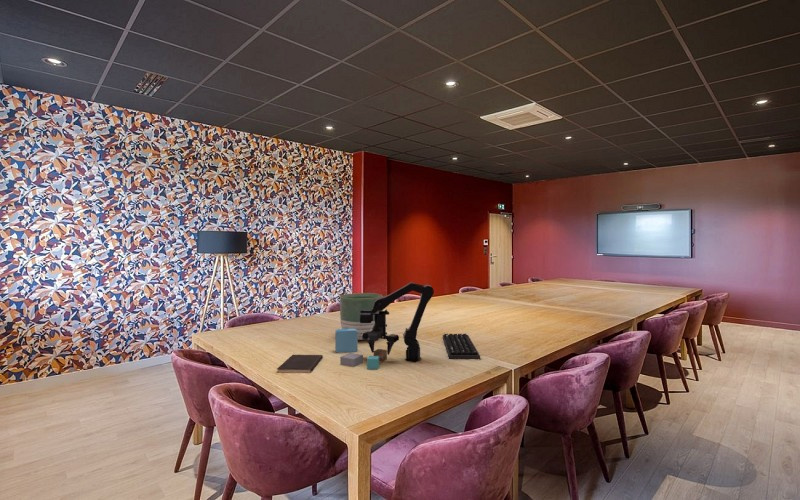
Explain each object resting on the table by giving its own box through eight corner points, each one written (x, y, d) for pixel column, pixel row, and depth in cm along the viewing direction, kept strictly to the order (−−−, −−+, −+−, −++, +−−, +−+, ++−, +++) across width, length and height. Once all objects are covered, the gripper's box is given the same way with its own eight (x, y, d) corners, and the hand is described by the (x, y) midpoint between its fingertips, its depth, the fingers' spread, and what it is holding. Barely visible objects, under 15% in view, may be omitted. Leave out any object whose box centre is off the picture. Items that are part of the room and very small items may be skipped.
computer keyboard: (442, 339, 242) (442, 332, 242) (467, 339, 242) (467, 333, 242) (449, 360, 198) (448, 353, 197) (480, 360, 197) (480, 353, 197)
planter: (356, 346, 224) (356, 300, 223) (331, 338, 243) (331, 295, 243) (391, 338, 241) (391, 295, 241) (365, 331, 261) (365, 291, 261)
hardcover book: (276, 373, 179) (276, 368, 179) (292, 359, 202) (292, 354, 202) (311, 374, 178) (311, 369, 178) (322, 359, 201) (322, 354, 201)
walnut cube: (386, 359, 198) (386, 349, 198) (382, 362, 194) (382, 352, 194) (378, 358, 200) (378, 348, 200) (373, 360, 196) (373, 351, 196)
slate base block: (363, 363, 193) (363, 355, 193) (353, 367, 186) (353, 359, 186) (350, 360, 197) (350, 352, 197) (340, 364, 190) (340, 356, 190)
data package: (357, 349, 217) (356, 328, 217) (357, 351, 213) (357, 330, 212) (335, 350, 215) (335, 329, 215) (335, 352, 210) (335, 331, 210)
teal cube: (379, 366, 187) (379, 356, 187) (377, 369, 182) (377, 359, 182) (369, 366, 188) (369, 355, 188) (367, 369, 183) (367, 358, 183)
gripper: (356, 324, 194) (356, 355, 194) (388, 327, 185) (388, 360, 186) (367, 320, 204) (368, 349, 204) (399, 323, 195) (399, 354, 196)
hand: (380, 353), depth 197 cm, fingers open, 9 cm apart
